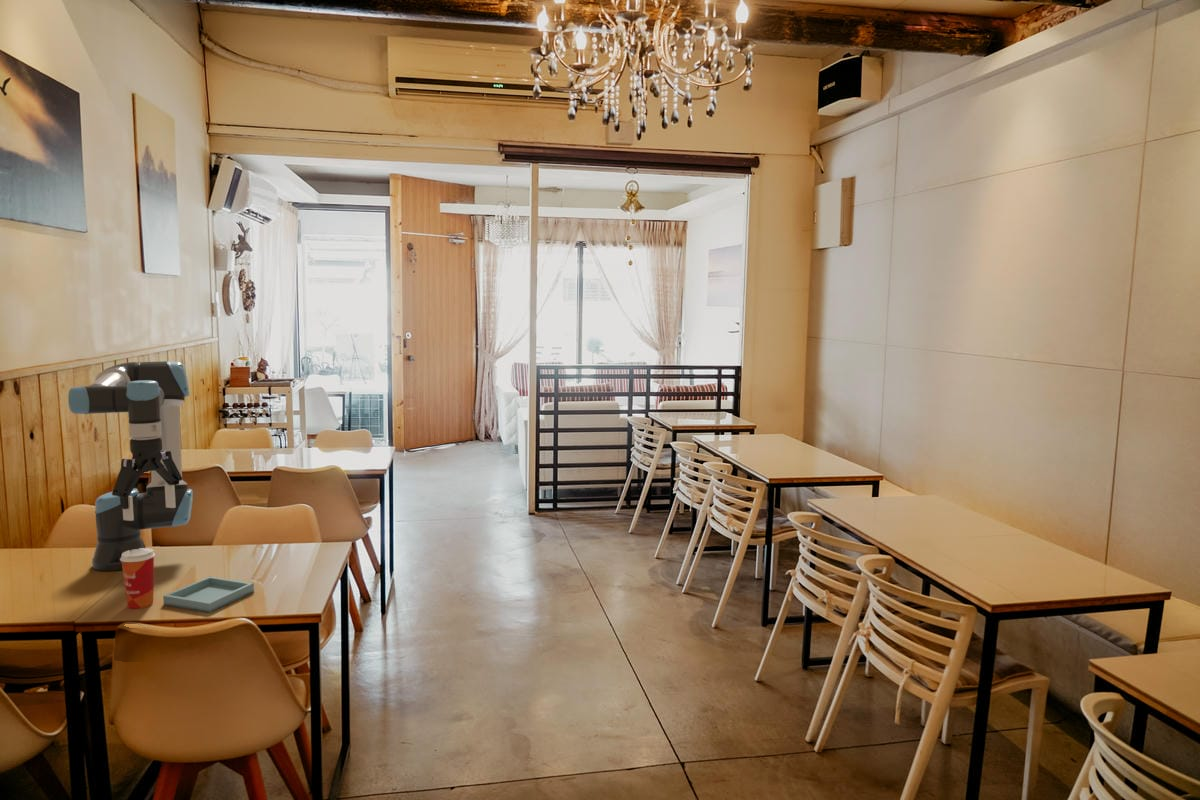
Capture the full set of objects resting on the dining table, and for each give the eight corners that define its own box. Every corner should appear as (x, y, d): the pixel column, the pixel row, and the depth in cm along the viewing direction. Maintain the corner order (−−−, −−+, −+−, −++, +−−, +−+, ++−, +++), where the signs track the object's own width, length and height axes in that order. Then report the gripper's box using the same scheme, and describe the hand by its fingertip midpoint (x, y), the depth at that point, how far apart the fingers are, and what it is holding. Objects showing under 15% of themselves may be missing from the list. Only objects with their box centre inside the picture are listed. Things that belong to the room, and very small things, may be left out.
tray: (163, 604, 206) (163, 595, 205) (210, 584, 221) (209, 576, 220) (209, 612, 201) (209, 603, 200) (254, 591, 216) (253, 583, 216)
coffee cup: (119, 604, 206) (116, 551, 204) (153, 596, 211) (150, 545, 210) (127, 613, 200) (123, 559, 198) (161, 605, 205) (158, 552, 204)
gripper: (115, 446, 190) (120, 527, 192) (193, 431, 214) (197, 503, 216) (92, 444, 192) (98, 524, 194) (172, 429, 216) (176, 501, 218)
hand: (150, 513), depth 205 cm, fingers open, 13 cm apart
